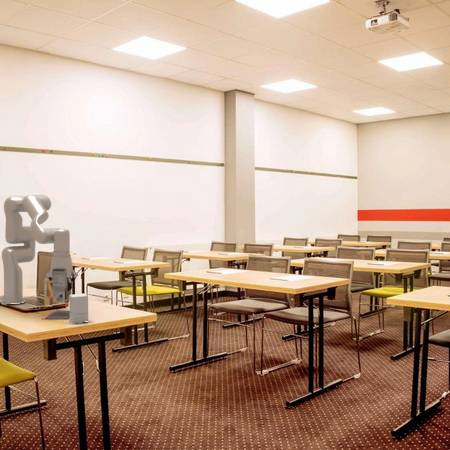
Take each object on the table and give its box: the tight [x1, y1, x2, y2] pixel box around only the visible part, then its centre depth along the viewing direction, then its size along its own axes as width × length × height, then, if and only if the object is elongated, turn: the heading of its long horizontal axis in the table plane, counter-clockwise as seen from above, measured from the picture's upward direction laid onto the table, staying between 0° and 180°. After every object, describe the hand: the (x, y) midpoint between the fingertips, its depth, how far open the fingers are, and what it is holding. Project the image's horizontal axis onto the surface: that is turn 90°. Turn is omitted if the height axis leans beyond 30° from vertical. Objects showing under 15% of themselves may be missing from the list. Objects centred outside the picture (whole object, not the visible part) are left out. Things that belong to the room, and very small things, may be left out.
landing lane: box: [41, 309, 70, 320], centre depth 253 cm, size 13×18×1 cm
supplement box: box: [68, 293, 89, 324], centre depth 239 cm, size 7×7×13 cm
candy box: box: [43, 278, 64, 306], centre depth 274 cm, size 9×4×15 cm, turn 129°
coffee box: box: [52, 269, 72, 303], centre depth 252 cm, size 9×6×16 cm
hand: (62, 290), depth 253 cm, fingers closed on coffee box, 6 cm apart
